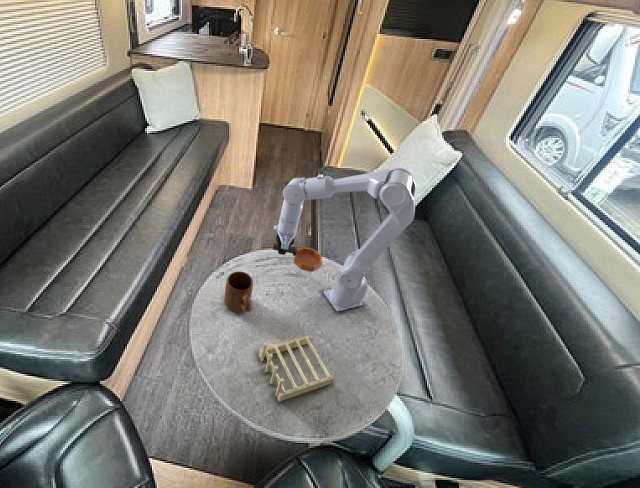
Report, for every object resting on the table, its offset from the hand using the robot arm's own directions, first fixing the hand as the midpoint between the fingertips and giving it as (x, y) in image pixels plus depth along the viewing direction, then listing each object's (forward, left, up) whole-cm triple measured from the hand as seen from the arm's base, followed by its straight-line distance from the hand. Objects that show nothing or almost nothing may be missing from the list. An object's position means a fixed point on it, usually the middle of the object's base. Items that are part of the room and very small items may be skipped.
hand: (281, 251), depth 102 cm
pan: (-4, +2, -2) cm, 5 cm away
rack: (+11, +32, -8) cm, 35 cm away
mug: (+18, +11, -9) cm, 23 cm away
